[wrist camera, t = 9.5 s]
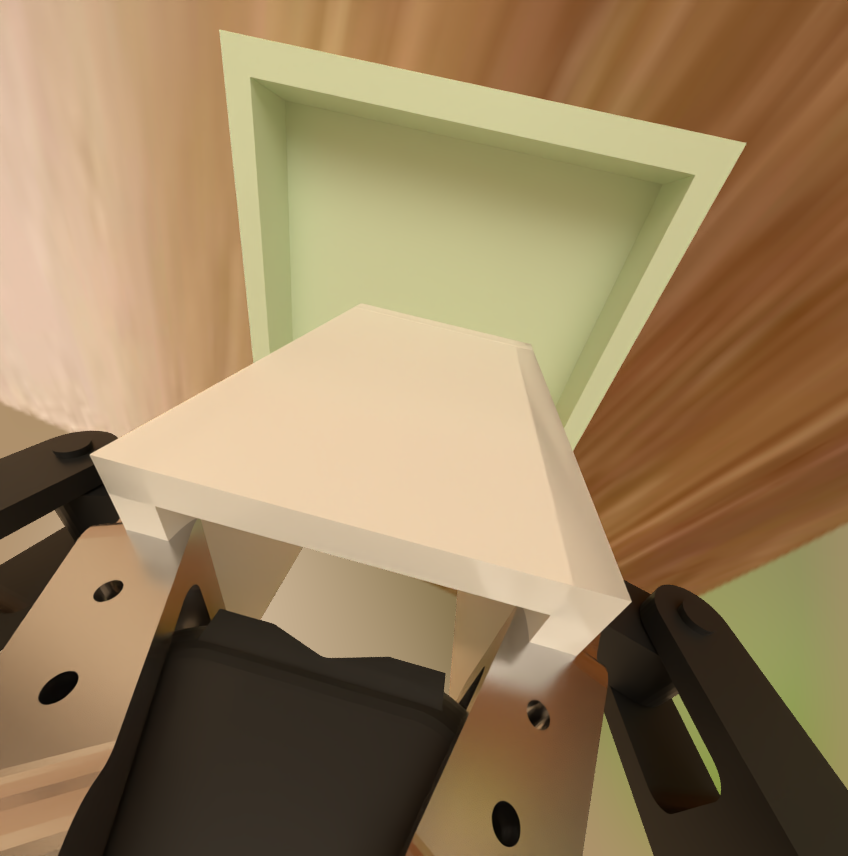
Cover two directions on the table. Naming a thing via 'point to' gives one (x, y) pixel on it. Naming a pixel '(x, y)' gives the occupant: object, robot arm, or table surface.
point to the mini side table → (384, 477)
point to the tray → (457, 209)
